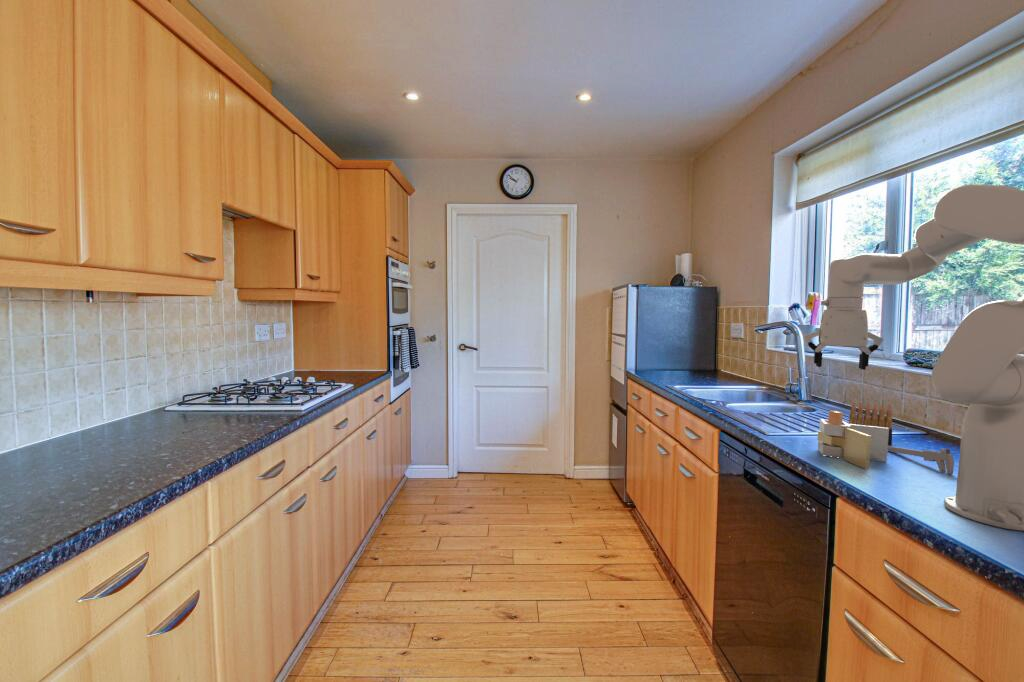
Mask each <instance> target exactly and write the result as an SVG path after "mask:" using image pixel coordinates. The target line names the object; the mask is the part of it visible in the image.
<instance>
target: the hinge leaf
mask: <svg viewBox="0 0 1024 682" xmlns="http://www.w3.org/2000/svg"><path fill="white" fill-rule="evenodd" d="M818 440H819V441H821V442H824V443H826V444H828V445H831V446H840V447H843V448H844V457H843V459H842V460H844V461H847V462H849V463H851V464H852V465H855V466H858V467H859V468H862V469H864V470H869V469H870V461H871V460H870V447H871V436H870V435H867V434H864V433H862V432H859V431H856V430H853V429H850V428H846V431H845V437H833V436H830V435H824V434H823V433H822V432H821V431H817V441H818Z"/></svg>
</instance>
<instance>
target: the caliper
mask: <svg viewBox="0 0 1024 682" xmlns="http://www.w3.org/2000/svg"><path fill="white" fill-rule="evenodd" d="M887 450H888V451H887V452H889V451H890V453H896V454H902V455H908V456H909V455H910V456H915V457H920V458H923V461H925V462H927V461H928V462H936V464H937V467H938V470H939V472H941V473H946V474H947V475H953V474H954V470H955V469H954V468H955V459H954V454H953V453H951V450H950V448H940V451H935V450H928V449H925V450H924V449H922V450H916V449H912V448H905V447H899V446H898V447H897V446H893V445H888V448H887Z"/></svg>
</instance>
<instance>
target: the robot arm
mask: <svg viewBox="0 0 1024 682" xmlns="http://www.w3.org/2000/svg"><path fill="white" fill-rule="evenodd" d="M932 215H933V217H932V218H931V219H929V220H927V221H925V222H923V223H921V224H920V225H919V226H918V227H917V228H916V229H915V232H914V241H915V244H916V246H914V247H912V248H910V249H908V250H906V251H903V252H901V253H898V254H892V253H888V254H887V253H861V254H856V255H854V256H851V257H842V258H835V259H833V260H832V261H831V262H830V265H829V273H828V275H829V276H828V286H827V287H828V291H827V298H826V299H823V300H822V299H821V301H820V306H825V307H826V309H823V313H822V316H821V320H820V325H819V329H818V330H815V331H812V332H810V333H807V334H805V335H803V339H804V342H805V343H806V344H807V347H809V348H810V349H811V350H812V351H813V352H814V353H813V364H814V365H815V366H816V367H817V368H821V367H822V366H823V364H822V363H823V352H822V350H823V349H825V347H840V348H841V347H842V348H857V349H858V350H859V351H860V352H861V353H860V354H859V359H858V360H859V361H858V368H859V369H860V370H864V371H865V370H866V368H867V367H869V361H870V355H872V353H873V352H875V351H876V350H878V349H879V347H880V346H881V344H883V342H884V338H883V337H880V336H878V335H876V334H874V333H871V332H869V323H868V322H869V321H868V313H867V310H866V309H863V304H864V303H863V302H864V287H865V285H891V286H892V285H894V286H895V285H901V284H904V283H907V282H908V283H909V282H911V281H913V280H915V279H918V278H920V277H923V276H925V275H928V274H930V273H932V272H933V271H935V270H936V269H938V268H939V267H940V266H941V265H942V264H943V262H945V261H946V259H947V257H948V256H950V255H952V254H955V253H958V252H959V251H961V250H963V249H966V248H968V247H970V246H972V245H975V244H977V243H980V242H981V241H984V240H992V241H996V242H1002V243H1006V244H1007V243H1008V244H1011V245H1021V246H1024V190H1023V189H1020V188H1017V187H1013V186H1009V185H998V184H997V185H995V184H980V183H979V184H974V183H973V184H965V185H962V186H958V187H956V188H954V189H952V190H950V191H948V192H947V193H946V194H944V195H943V196H942V197H941V198H940V199H939V200H938V201H937V203H936V204H935V207H934V209H933V214H932ZM815 337H818V344H817V345H816V344H815V343H814V342H813V340H812V339H813V338H815ZM869 339H871V340H872V341H873V343H872V344H871V345H869V346H868V347H867V345H868V341H869ZM930 378H931V384H932V387H933V389H934V391H935V392H936V393H937V394H938V396H940V398H943V399H945V400H946V401H949V402H950V403H951V402H952V403H956V404H961V405H969V406H968V408H967V409H966V412H965V414H964V417H963V420H962V430H961V437H960V447H959V456H958V457H959V459H958V468H957V469H958V470H957V478H956V479H957V481H956V491H955V495H951V496H946V497H945V498H944V500H943V503H944V504H943V505H944V506H945V507H946V508H947V509H948V510H949V511H951V512H953V513H955V514H957V515H959V516H961V517H964V518H967V519H969V520H972V521H975V522H978V523H981V524H986V525H988V526H991V527H992V526H993V527H996V528H1002V529H1007V530H1011V531H1012V530H1013V531H1020V532H1021V531H1022V532H1024V294H1023V295H1022V296H1021V297H1020V298H1019V299H1017V300H1014V299H1012V300H1011V299H1008V300H1006V299H1005V300H1004V299H1003V300H995V301H991V302H990V301H989V302H987V303H984V304H981V305H979V306H978V307H975V308H973V310H971V311H970V312H968V314H966V315H965V317H964V318H963V319H962V320H961V322H960V323H959V324H958V325H957V328H956V329H955V331H954V332H953V334H952V336H951V337H950V339H949V340H948V342H947V344H946V345H945V346H944V349H943V350H942V351H941V353H940V354H939V357H938V358H937V360H936V362H935V364H934V365H933V368H932V371H931V376H930Z"/></svg>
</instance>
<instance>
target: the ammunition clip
mask: <svg viewBox="0 0 1024 682" xmlns="http://www.w3.org/2000/svg"><path fill="white" fill-rule="evenodd" d="M870 406H871V405H870V404H869V403H867V404H866V405H865V408H864V405H863V403H862V402H860V403H859V404H858V407H857V408H856V403H855V402H852V404H851V407H850V414H849V419H848V424H856V425H866V426H875V427H885V428H889V436H888V446H893V409H892V406H891V404H889V405H888V407H887V409H886V411H885V405H884V404H881V406H880V407H879V408H880V409H879V413H878V406H877V404H876V403H875V404H874V405H873V407H872V411H871V407H870ZM864 409H865V410H864ZM856 411H857V412H856ZM885 412H886V415H885Z"/></svg>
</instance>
